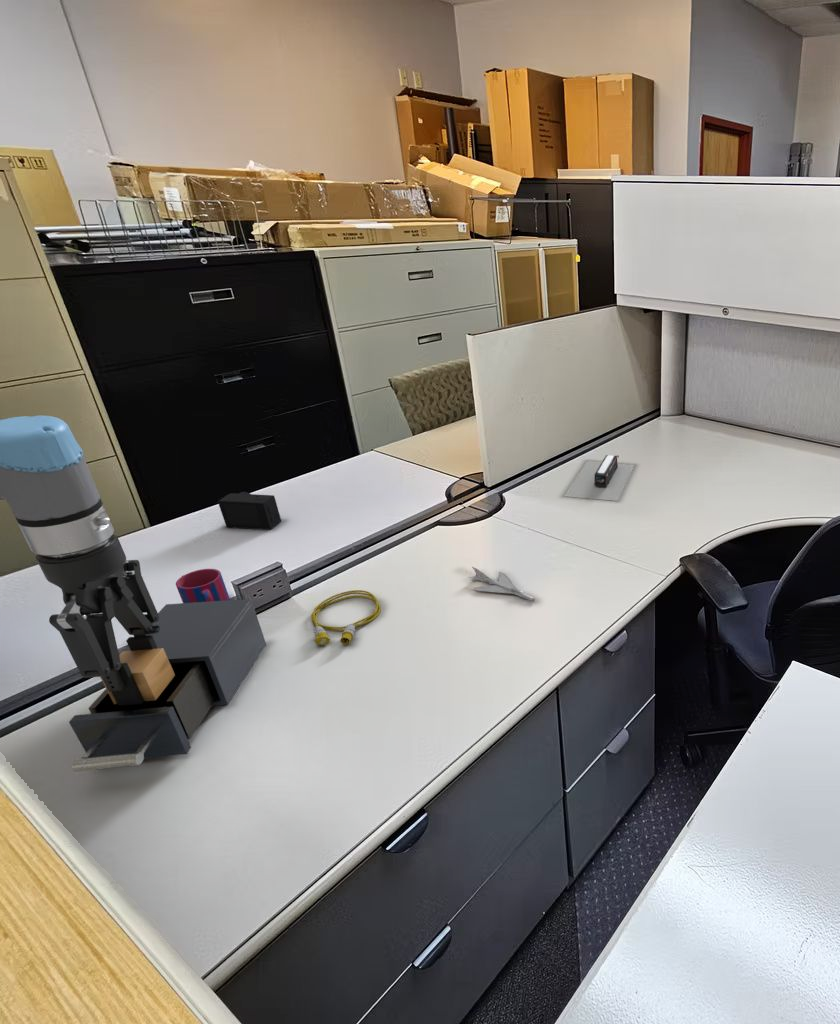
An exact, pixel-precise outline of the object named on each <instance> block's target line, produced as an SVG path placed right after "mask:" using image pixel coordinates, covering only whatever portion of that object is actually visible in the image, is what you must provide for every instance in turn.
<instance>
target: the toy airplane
mask: <svg viewBox="0 0 840 1024" xmlns="http://www.w3.org/2000/svg"><path fill="white" fill-rule="evenodd" d="M471 568H472V570H474V572H475V575H474V576H469V577H468V578H469V579H470V580H473V581H483V582H485V583H487V584H489V585H483V586H476V587H473V589H474V590H475V591H477V592H486V593H487V592H489V593H499V594H513V595H515V596H517V597H520V598H521V599H525V600H528V601H533V602H535V601H536V598H534V597H533V596H532V595H530V594H528V593H526V592H523V591H522V590H520V589H519V588H517V587H516V585H515V584H514V583H513V582H512V580H511V579H510V577H508V575H507V574H506V573H505V572H501V571H498V577H497V580H495V579H492V578H491V577H489V576H488V575H486V574H485V573H484V572H482V571H481V570H480V569H478V568H476V567H474V566H471ZM465 572H467V570H466V571H465ZM470 574H472V572H470Z"/></svg>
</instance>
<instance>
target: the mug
mask: <svg viewBox="0 0 840 1024" xmlns="http://www.w3.org/2000/svg"><path fill="white" fill-rule="evenodd" d="M175 587H176V589H177V591H178V594H179V597H180V599H181V602H182V603H195V602H211V601H227V600H231V598H230V595H229V593H228V590H227V587H226V584H225V581H224V578H223V576H222V572H221V571H220V570H219V569H216V568H202V569H197V570H193V571H191V572H188V573H186V574H184V575H182V576H181V577H179V578H178V579H177V580H176V582H175Z"/></svg>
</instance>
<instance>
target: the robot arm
mask: <svg viewBox="0 0 840 1024" xmlns="http://www.w3.org/2000/svg"><path fill="white" fill-rule="evenodd" d="M0 500H5V501H6V503H7V504H8V506H9V508H10V510H11V512H12V514H13V516H14V518H15V519H16V522H17V524H18V527H19V530H21V533H22V535H23V537H24V539H25V541H26V543H27V545H28V547H29V549H30V551H31V552H32V553H34V554H35V559H36V561H37V564H38V566H39V567H40V569H41V572H42V574H43V575H44V578H45V579H46V580H47V582H48V583H50V584H51V585H52V584H53V585H55V586H56V587H58V588H60V590H61V592H62V601H63V603H64V605H65V606H64V607H63V609H62V610H61V612H60V613H59V614H58V613H57V614H51V615H50V616H49V619H48V622H49V624H50V625H51V626H52V627H53V628H54V629H55V630H57V632H59V634H60V636H61V637H62V640H63V643H64V644H65V646H66V648H67V650H68V652H69V654H70V656H71V657H72V660H73V661H74V664H75V666H76V667H77V670H78V671H79V673H80V676H81V677H82V678H83V679H85V678H87V679H88V678H100V677H102V679H103V681H104V683H105V685H106V687H107V689H108V690H109V691H111V692H112V694H113V696H114V698H115V700H116V702H117V704H118V706H123V705H134V704H141V703H142V702H143V701H144V698H143V696H142V694H141V692H140V690H139V688H138V686H137V684H136V681H135V679H134V677H133V675H132V672H131V670H130V668H129V666H128V664H127V663H121V662H120V657H119V654H120V653H119V648H118V644H117V640H116V635H115V631H114V627H113V621H112V619H114V618H115V619H116V620H117V622H118V623H119V624H120V625H121V626H122V627H123V629H124V630H125V632H126V633H127V634H128V635H129V637H128V638H127V639H126V640H125V641H126V644H127V646H129V648H130V650H131V651H135V650H147V649H158V648H157V644H156V642H155V639H154V637H153V635H152V634H154V633H158V632H159V630H160V627H159V626H152V625H153V622H157V621H158V620H159V615H158V613H159V612H158V610H157V608H156V606H155V603H154V601H153V599H152V597H151V595H150V592H149V589H148V587H147V585H146V583H145V580H144V578H143V576H142V570H141V563H140V561H139V560H138V559H127V556H126V553H125V551H124V549H123V546H122V544H121V542H120V539H119V537H118V536H117V535H116V534H114V532H115V529H114V527H113V524H112V522H111V520H110V517H109V515H108V513H107V511H106V509H105V507H104V505H103V503H104V502H103V501H102V499H101V496H100V493H99V490H98V488H97V485H96V483H95V481H94V478H93V476H92V473H91V471H90V468H89V466H88V464H87V461H86V459H85V456H84V450H83V448H82V447H81V446H80V444H79V443H78V442H77V440H76V438H75V436H74V434H73V432H72V431H71V429H70V427H69V425H68V424H67V422H65V421H64V420H63V419H61V418H59V417H56V416H51V415H34V416H33V415H32V416H28V415H24V416H23V415H22V416H14V417H9V418H4V419H0Z"/></svg>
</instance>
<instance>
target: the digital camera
mask: <svg viewBox="0 0 840 1024" xmlns="http://www.w3.org/2000/svg"><path fill="white" fill-rule="evenodd" d="M217 503H218V506H219V509H220V512H221V516H222V518H223V521H224V524H225V527H226V528H228V529H247V530H248V529H249V530H268V531H269V530H272V529H274V528H275V527H276V526H278V525H279V524H280V523H281V522H282V519H281V518H282V517H281V515H280V511H279V508H278V503H277V500H276V497H275V495H274V494H253V493H250V492H247V491H241V492H239V493H233V492H230V493H229V494H226V495H225V496H224V497H222V498H220V499H218V501H217Z"/></svg>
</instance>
